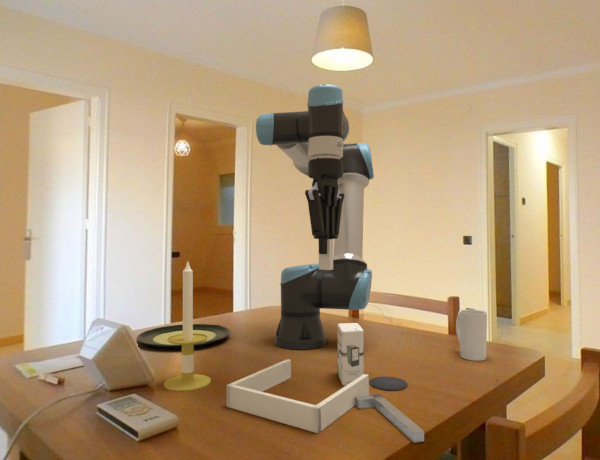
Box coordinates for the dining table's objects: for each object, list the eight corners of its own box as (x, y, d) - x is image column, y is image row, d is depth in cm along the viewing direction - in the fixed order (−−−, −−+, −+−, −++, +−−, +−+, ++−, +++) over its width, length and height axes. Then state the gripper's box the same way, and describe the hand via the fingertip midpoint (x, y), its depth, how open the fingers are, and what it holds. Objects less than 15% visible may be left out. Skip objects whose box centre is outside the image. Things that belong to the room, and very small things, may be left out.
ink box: (336, 373, 100) (336, 322, 100) (357, 372, 100) (357, 322, 100) (341, 386, 91) (341, 330, 91) (364, 385, 91) (364, 330, 92)
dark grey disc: (363, 385, 91) (363, 384, 91) (378, 375, 98) (378, 374, 98) (399, 393, 87) (399, 392, 87) (412, 382, 93) (412, 380, 93)
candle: (188, 372, 100) (188, 257, 100) (220, 380, 95) (220, 258, 95) (153, 385, 92) (153, 259, 92) (187, 394, 86) (187, 261, 87)
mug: (493, 360, 110) (492, 313, 110) (471, 362, 108) (470, 314, 108) (467, 350, 119) (466, 307, 120) (446, 352, 117) (446, 308, 118)
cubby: (226, 406, 80) (226, 385, 80) (287, 376, 97) (287, 359, 97) (317, 433, 69) (317, 408, 69) (368, 394, 86) (368, 374, 86)
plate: (182, 327, 150) (182, 320, 151) (248, 336, 137) (248, 328, 138) (115, 346, 126) (115, 338, 126) (187, 358, 113) (187, 349, 113)
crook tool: (395, 446, 65) (394, 434, 66) (355, 406, 81) (355, 396, 81) (424, 442, 67) (424, 430, 67) (379, 403, 82) (379, 394, 82)
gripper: (325, 153, 84) (325, 272, 84) (354, 161, 95) (355, 267, 95) (293, 156, 89) (294, 271, 88) (325, 164, 99) (326, 266, 99)
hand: (326, 269), depth 92 cm, fingers closed
